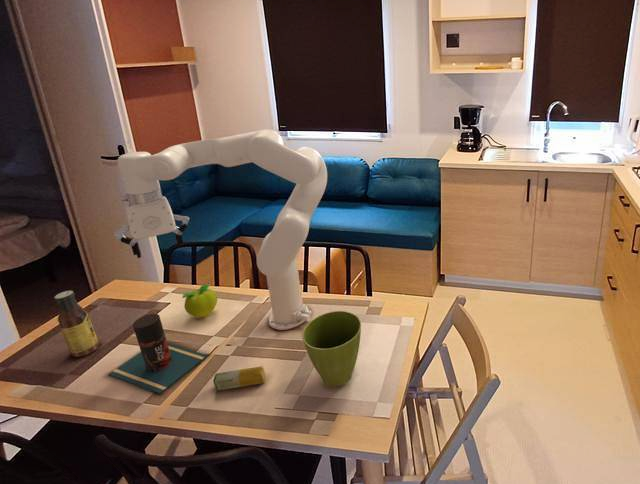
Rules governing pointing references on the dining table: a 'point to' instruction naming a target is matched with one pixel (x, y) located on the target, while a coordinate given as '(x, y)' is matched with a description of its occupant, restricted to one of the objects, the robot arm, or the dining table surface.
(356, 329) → the flower pot
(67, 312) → the sauce bottle
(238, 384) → the medication box
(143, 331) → the deodorant
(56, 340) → the dining table surface
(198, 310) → the fruit
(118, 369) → the cloth
